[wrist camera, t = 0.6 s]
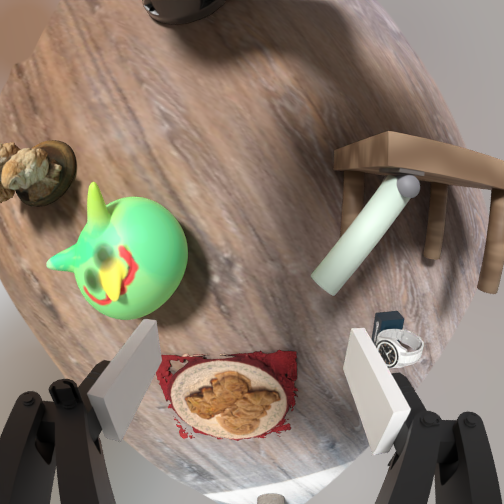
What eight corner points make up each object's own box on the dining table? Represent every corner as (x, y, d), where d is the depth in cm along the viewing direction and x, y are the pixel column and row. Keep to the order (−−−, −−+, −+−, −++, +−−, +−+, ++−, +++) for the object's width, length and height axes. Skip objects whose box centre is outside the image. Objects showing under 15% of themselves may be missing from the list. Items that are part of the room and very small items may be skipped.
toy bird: (150, 315, 48) (115, 362, 34) (84, 248, 46) (31, 274, 31) (218, 242, 44) (197, 272, 30) (141, 168, 42) (90, 167, 28)
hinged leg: (385, 167, 26) (405, 166, 22) (405, 186, 26) (427, 189, 22) (307, 268, 29) (314, 284, 25) (329, 285, 29) (339, 303, 25)
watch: (365, 313, 46) (387, 347, 36) (405, 310, 46) (434, 340, 35) (361, 341, 48) (380, 378, 37) (400, 337, 47) (425, 370, 37)
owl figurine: (21, 216, 45) (-40, 234, 28) (12, 162, 42) (-49, 166, 25) (82, 190, 43) (13, 201, 26) (72, 127, 40) (4, 117, 24)
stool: (334, 150, 40) (388, 130, 21) (443, 166, 39) (527, 170, 20) (328, 249, 44) (373, 302, 24) (435, 253, 43) (510, 295, 24)
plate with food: (152, 350, 51) (146, 361, 47) (295, 346, 48) (297, 358, 45) (182, 433, 57) (179, 444, 54) (298, 433, 55) (298, 445, 51)
